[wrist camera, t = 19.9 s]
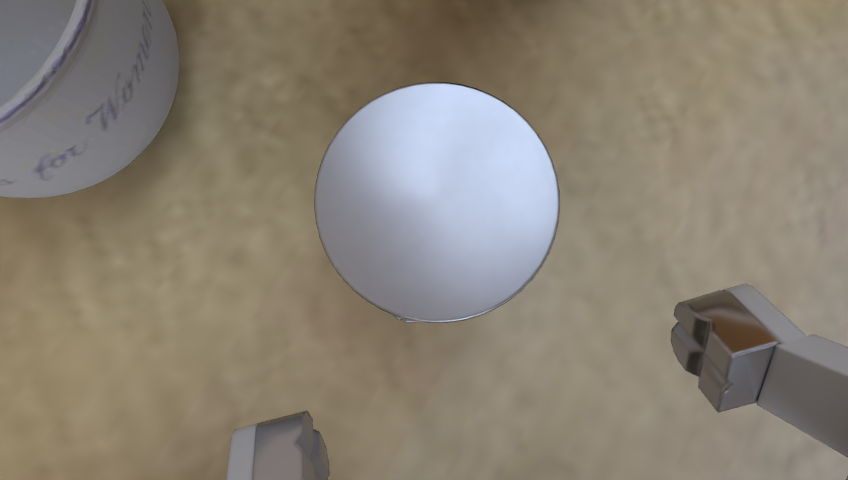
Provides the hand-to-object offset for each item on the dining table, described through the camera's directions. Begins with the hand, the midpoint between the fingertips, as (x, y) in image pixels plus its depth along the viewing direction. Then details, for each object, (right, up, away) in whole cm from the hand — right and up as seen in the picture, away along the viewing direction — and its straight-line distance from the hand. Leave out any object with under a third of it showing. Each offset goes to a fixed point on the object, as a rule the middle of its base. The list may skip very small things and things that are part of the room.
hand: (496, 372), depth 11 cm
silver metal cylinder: (-1, +3, +10) cm, 11 cm away
